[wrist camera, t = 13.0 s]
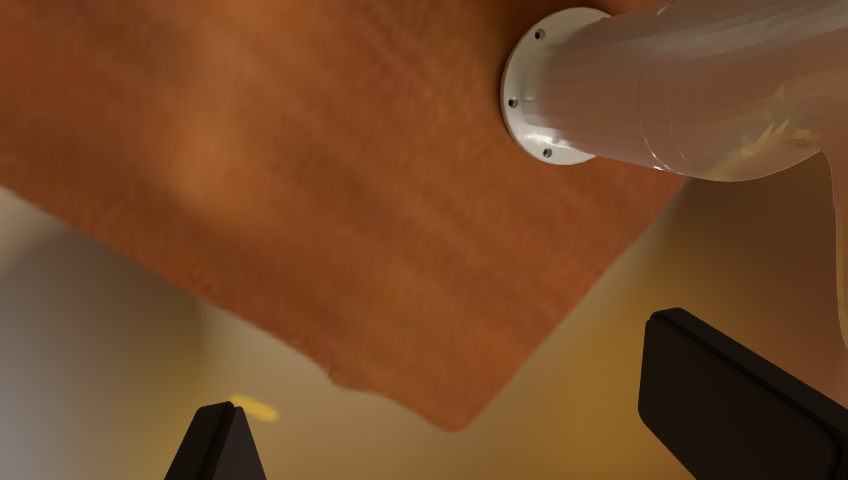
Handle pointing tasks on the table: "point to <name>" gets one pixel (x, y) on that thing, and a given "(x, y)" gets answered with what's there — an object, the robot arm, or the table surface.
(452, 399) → the table surface
